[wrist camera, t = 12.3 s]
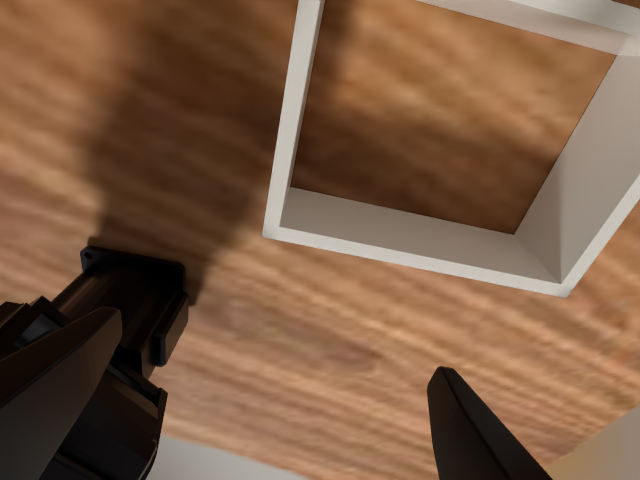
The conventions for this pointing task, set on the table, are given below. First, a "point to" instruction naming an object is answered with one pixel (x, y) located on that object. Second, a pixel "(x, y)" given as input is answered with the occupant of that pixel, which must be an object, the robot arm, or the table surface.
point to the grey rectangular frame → (548, 206)
